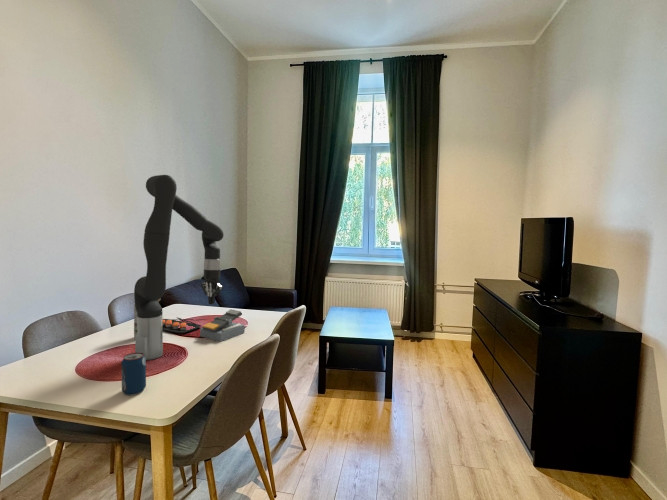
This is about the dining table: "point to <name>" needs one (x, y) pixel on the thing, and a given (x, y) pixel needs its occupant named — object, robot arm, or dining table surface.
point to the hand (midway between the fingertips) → (211, 303)
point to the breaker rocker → (222, 320)
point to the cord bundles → (231, 327)
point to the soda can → (133, 373)
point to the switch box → (222, 335)
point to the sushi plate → (173, 325)
